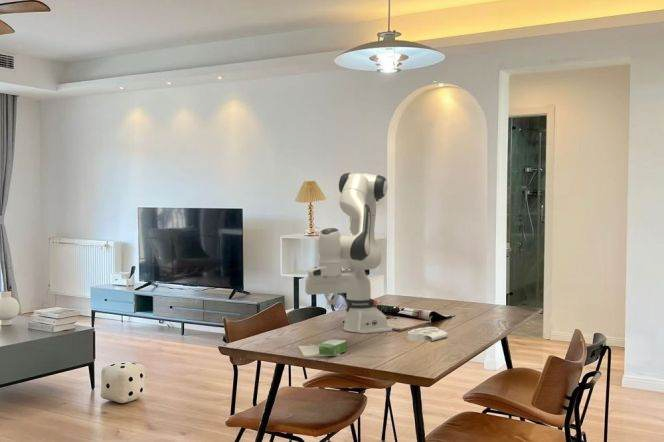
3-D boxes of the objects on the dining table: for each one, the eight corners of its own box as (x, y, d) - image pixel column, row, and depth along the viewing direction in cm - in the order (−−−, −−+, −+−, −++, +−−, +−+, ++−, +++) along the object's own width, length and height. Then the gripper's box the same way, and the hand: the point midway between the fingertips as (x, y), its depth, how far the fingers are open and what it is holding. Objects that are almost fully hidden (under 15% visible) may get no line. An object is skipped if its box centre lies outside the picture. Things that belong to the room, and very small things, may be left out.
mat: (332, 346, 268) (332, 344, 268) (340, 355, 252) (340, 353, 252) (298, 347, 265) (298, 346, 265) (304, 357, 249) (304, 355, 249)
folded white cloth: (427, 344, 272) (399, 339, 282) (452, 337, 285) (424, 332, 295) (427, 336, 272) (399, 331, 282) (452, 330, 285) (424, 325, 295)
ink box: (332, 348, 261) (313, 355, 249) (332, 338, 261) (313, 345, 249) (347, 350, 257) (329, 357, 246) (347, 340, 257) (329, 347, 246)
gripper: (354, 267, 263) (355, 301, 264) (304, 270, 259) (305, 304, 260) (357, 269, 257) (358, 304, 258) (306, 272, 253) (307, 307, 254)
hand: (331, 304), depth 259 cm, fingers closed
